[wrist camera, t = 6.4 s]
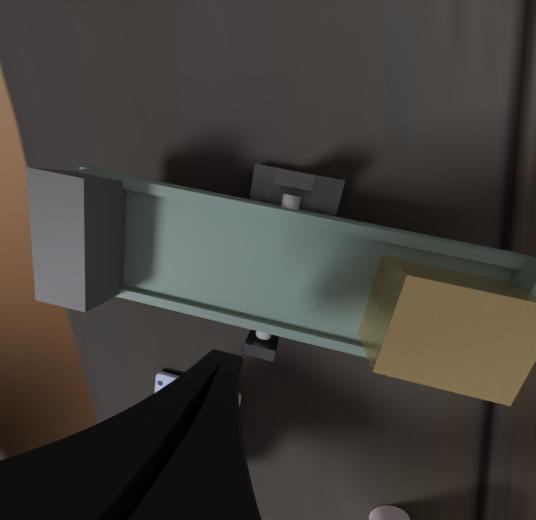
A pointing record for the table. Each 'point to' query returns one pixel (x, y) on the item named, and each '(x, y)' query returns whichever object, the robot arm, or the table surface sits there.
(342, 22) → the table surface
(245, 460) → the robot arm
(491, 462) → the table surface
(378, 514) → the smoothie
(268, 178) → the pivot stand
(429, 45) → the table surface
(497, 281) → the block
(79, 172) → the beam
